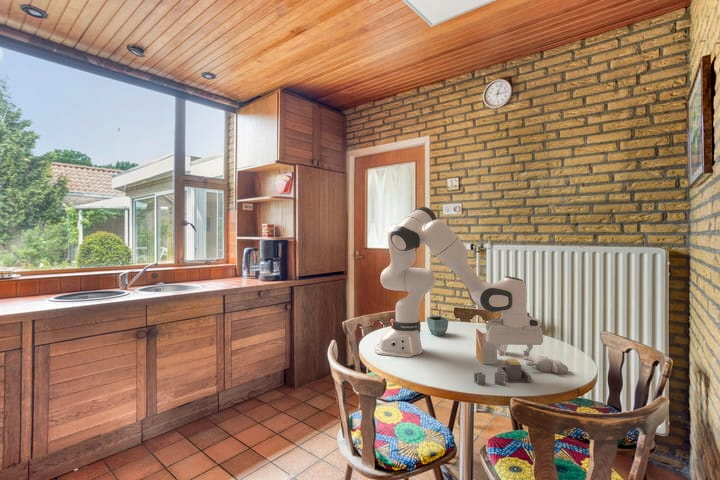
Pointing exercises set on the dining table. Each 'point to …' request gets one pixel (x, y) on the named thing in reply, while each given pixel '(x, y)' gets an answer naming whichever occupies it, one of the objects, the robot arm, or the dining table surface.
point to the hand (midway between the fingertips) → (513, 355)
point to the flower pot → (437, 325)
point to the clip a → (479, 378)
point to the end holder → (524, 379)
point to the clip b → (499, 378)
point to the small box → (485, 348)
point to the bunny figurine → (547, 364)
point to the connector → (513, 368)
